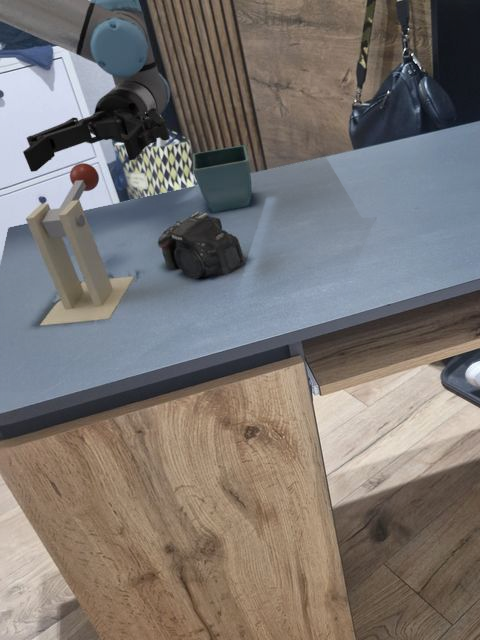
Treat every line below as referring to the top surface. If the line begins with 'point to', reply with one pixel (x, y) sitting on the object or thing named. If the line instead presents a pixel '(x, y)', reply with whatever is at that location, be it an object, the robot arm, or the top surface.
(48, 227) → the lever
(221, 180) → the flower pot
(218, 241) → the camera
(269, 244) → the top surface
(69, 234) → the stand
